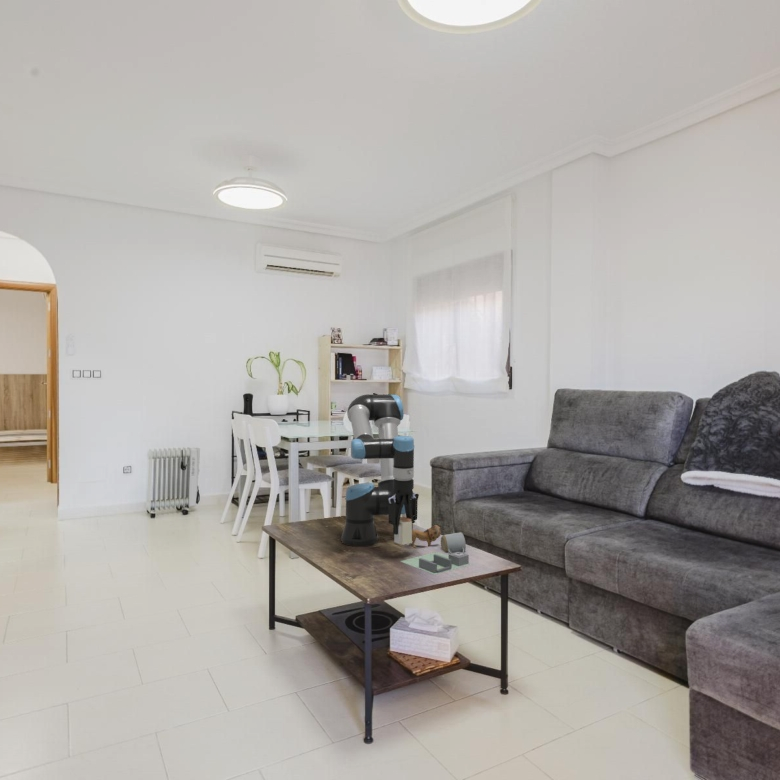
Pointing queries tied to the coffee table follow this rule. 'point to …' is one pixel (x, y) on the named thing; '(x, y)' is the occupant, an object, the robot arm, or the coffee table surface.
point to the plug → (406, 530)
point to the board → (429, 557)
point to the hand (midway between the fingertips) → (402, 541)
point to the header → (432, 565)
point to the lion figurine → (426, 535)
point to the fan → (459, 558)
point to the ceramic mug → (453, 543)
